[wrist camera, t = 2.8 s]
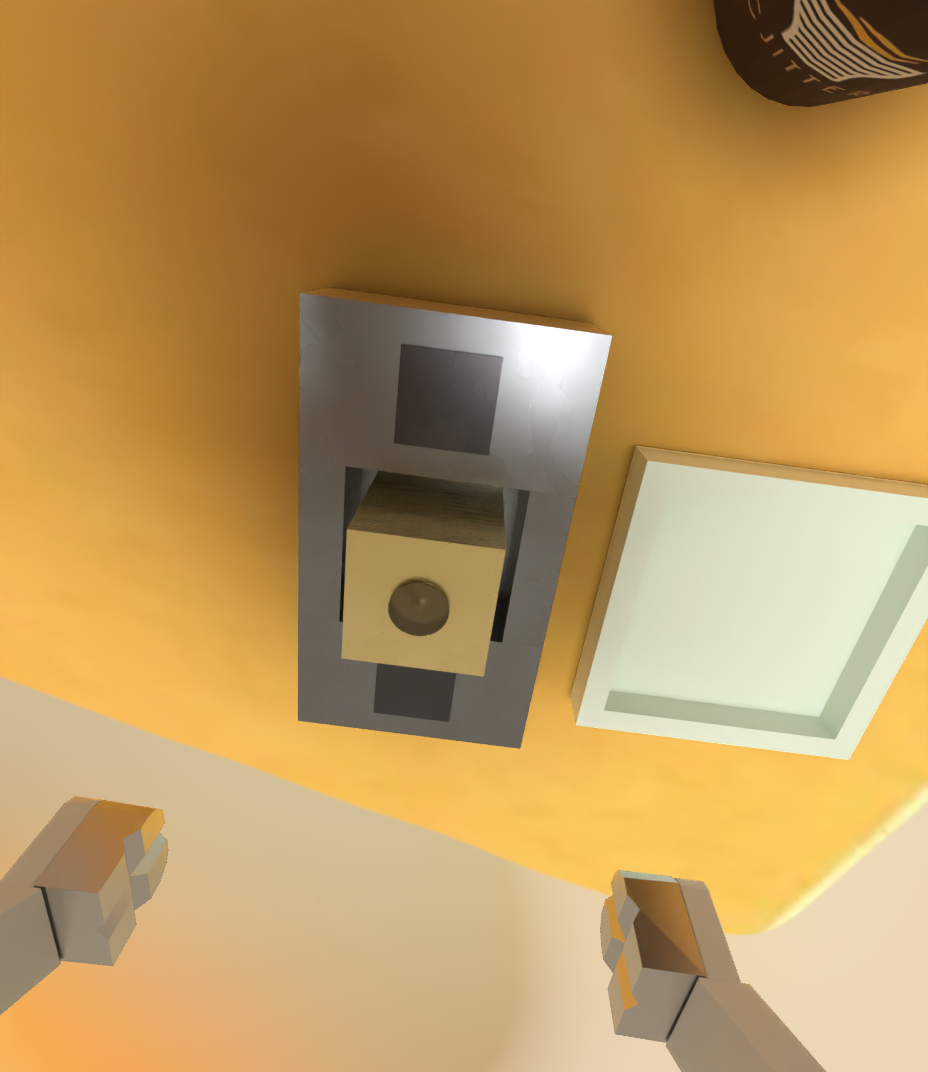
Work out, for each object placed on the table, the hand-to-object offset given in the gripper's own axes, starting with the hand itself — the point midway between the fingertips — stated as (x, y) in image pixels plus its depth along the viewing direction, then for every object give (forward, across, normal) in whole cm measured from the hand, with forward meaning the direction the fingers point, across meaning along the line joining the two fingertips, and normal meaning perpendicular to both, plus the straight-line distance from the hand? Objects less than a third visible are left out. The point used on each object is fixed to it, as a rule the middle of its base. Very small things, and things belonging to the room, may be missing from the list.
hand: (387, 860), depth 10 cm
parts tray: (+15, -12, +1) cm, 19 cm away
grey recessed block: (+14, 0, -1) cm, 14 cm away
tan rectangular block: (+14, 0, -1) cm, 14 cm away
